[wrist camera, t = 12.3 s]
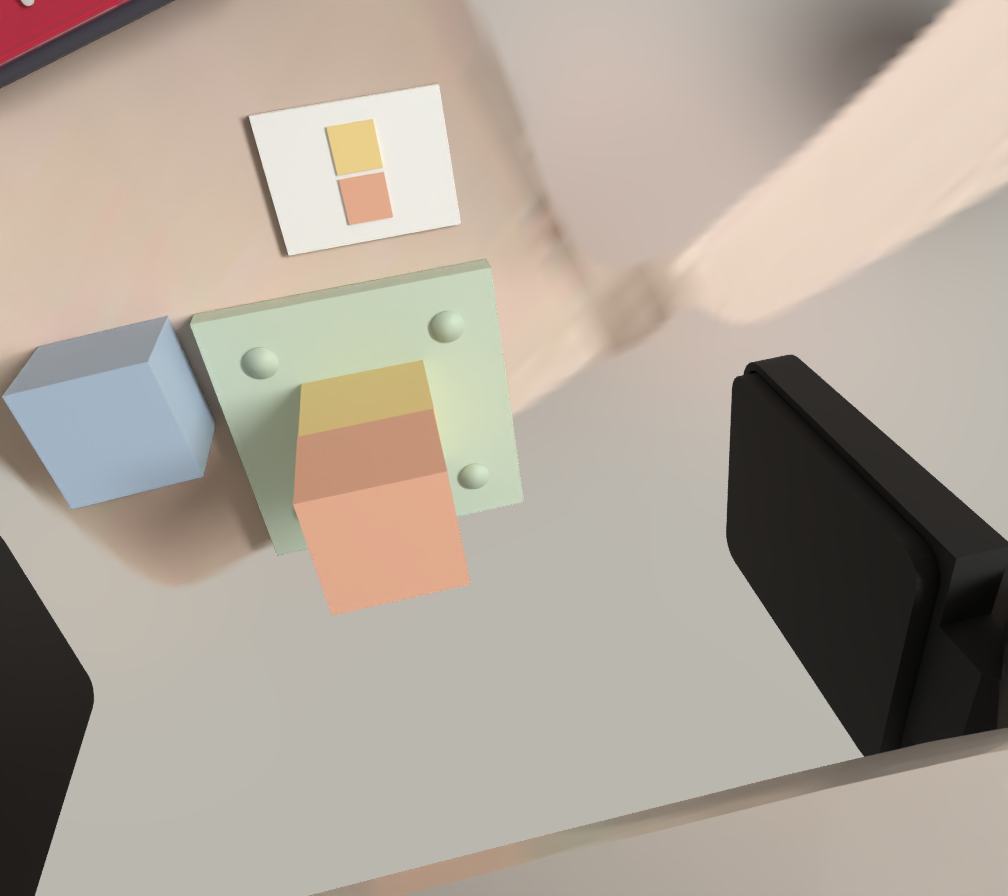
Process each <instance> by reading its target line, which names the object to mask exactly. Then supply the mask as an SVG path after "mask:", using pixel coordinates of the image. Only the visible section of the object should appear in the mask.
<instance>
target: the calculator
mask: <svg viewBox="0 0 1008 896" xmlns="http://www.w3.org/2000/svg"><path fill="white" fill-rule="evenodd" d="M172 1H174V0H0V88H2V87H4V86H6V85H8V84H10V83H12V82H14V81H16V80H18V79H20V78H22V77H24V76H26V75H28V74H30V73H32V72H34V71H36V70H38V69H40V68H42V67H44V66H46V65H48V64H50V63H52V62H54V61H55V60H57V59H59V58H61V57H63V56H65V55H67V54H69V53H71V52H73V51H75V50H77V49H79V48H81V47H83V46H85V45H87V44H89V43H91V42H93V41H95V40H97V39H99V38H101V37H103V36H105V35H107V34H109V33H111V32H113V31H115V30H117V29H119V28H121V27H123V26H125V25H127V24H129V23H131V22H133V21H135V20H137V19H139V18H141V17H143V16H145V15H147V14H149V13H151V12H153V11H154V10H156V9H158V8H160V7H162V6H164V5H166V4H168V3H170V2H172Z"/></svg>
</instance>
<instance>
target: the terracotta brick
mask: <svg viewBox="0 0 1008 896" xmlns="http://www.w3.org/2000/svg"><path fill="white" fill-rule="evenodd" d="M293 506H294V509H295V511H296V514H297V517H298V520H299V523H300V526H301V529H302V531H303V534H304V537H305V540H306V543H307V546H308V549H309V551H310V554H311V557H312V560H313V563H314V566H315V568H316V571H317V574H318V577H319V580H320V583H321V586H322V588H323V591H324V594H325V597H326V600H327V603H328V606H329V608H330V611H331V614H332V615H337V614H341V613H346V612H349V611H354V610H359V609H363V608H367V607H372V606H376V605H381V604H385V603H389V602H394V601H398V600H403V599H407V598H412V597H416V596H420V595H424V594H429V593H434V592H438V591H442V590H447V589H451V588H455V587H460V586H464V585H468V584H471V583H470V579H469V574H468V569H467V564H466V559H465V555H464V550H463V545H462V541H461V536H460V530H459V525H458V521H457V516H456V511H455V506H454V501H453V496H452V492H451V487H450V482H449V477H448V472H447V468H446V463H445V459H444V455H443V450H442V446H441V441H440V437H439V433H438V428H437V424H436V419H435V415H434V411H433V409H429V410H424V411H419V412H415V413H410V414H405V415H400V416H395V417H390V418H386V419H381V420H376V421H371V422H366V423H361V424H357V425H352V426H347V427H342V428H337V429H333V430H328V431H323V432H318V433H313V434H308V435H304V436H299V437H297V449H296V465H295V481H294V497H293Z"/></svg>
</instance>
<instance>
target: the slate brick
mask: <svg viewBox="0 0 1008 896" xmlns="http://www.w3.org/2000/svg"><path fill="white" fill-rule="evenodd" d="M2 398H3V399H4V401H5V402H6V404H7V406H8V407H9V409H10V410H11V412H12V414H13V415H14V417H15V419H16V420H17V422H18V423H19V425H20V427H21V428H22V430H23V432H24V433H25V435H26V436H27V438H28V440H29V441H30V443H31V444H32V446H33V448H34V449H35V451H36V453H37V454H38V456H39V457H40V459H41V461H42V462H43V464H44V466H45V467H46V469H47V470H48V472H49V474H50V475H51V477H52V478H53V480H54V482H55V483H56V485H57V487H58V488H59V490H60V491H61V493H62V495H63V496H64V498H65V500H66V501H67V503H68V504H69V506H70V508H71V509H76V508H80V507H84V506H88V505H92V504H96V503H100V502H104V501H108V500H112V499H116V498H120V497H124V496H128V495H132V494H136V493H140V492H144V491H148V490H152V489H156V488H160V487H164V486H168V485H172V484H176V483H180V482H184V481H188V480H192V479H196V478H200V477H203V476H204V472H205V468H206V463H207V459H208V455H209V451H210V447H211V443H212V438H213V434H214V430H215V426H216V422H215V419H214V417H213V415H212V413H211V410H210V408H209V406H208V404H207V402H206V399H205V397H204V395H203V393H202V390H201V388H200V386H199V384H198V382H197V379H196V377H195V375H194V373H193V370H192V368H191V366H190V364H189V362H188V359H187V357H186V355H185V353H184V351H183V348H182V346H181V344H180V342H179V339H178V337H177V335H176V333H175V331H174V328H173V326H172V324H171V322H170V319H169V317H168V316H165V317H160V318H156V319H152V320H148V321H144V322H139V323H135V324H131V325H127V326H122V327H118V328H114V329H110V330H106V331H101V332H97V333H93V334H89V335H84V336H80V337H76V338H72V339H68V340H63V341H59V342H55V343H51V344H46V345H42V346H38V348H37V349H36V350H35V352H34V353H33V354H32V356H31V357H30V359H29V360H28V361H27V363H26V364H25V365H24V367H23V368H22V370H21V371H20V372H19V374H18V375H17V376H16V378H15V379H14V381H13V382H12V383H11V385H10V386H9V387H8V389H7V390H6V392H5V393H4V394H3V396H2Z"/></svg>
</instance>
